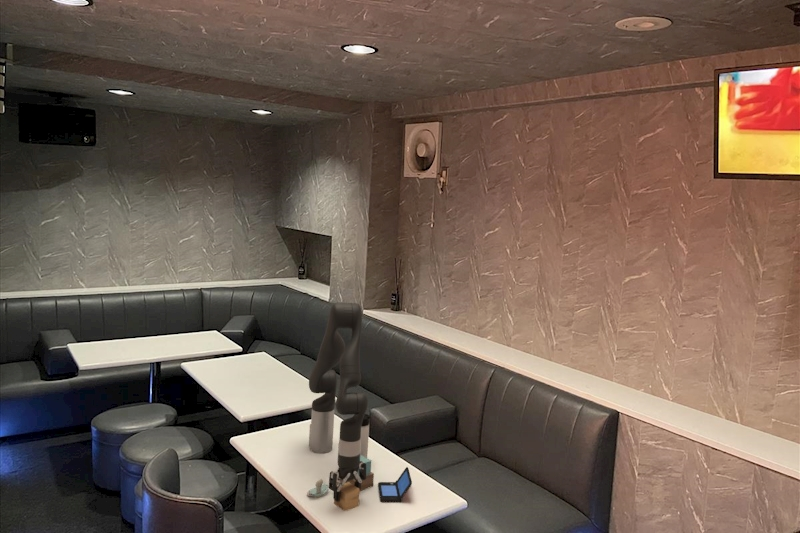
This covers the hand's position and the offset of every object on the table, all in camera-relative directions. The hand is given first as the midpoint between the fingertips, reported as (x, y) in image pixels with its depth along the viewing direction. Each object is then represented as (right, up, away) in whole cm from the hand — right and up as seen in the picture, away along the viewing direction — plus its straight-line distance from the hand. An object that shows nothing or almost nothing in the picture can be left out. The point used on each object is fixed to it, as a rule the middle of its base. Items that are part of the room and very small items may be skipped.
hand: (346, 496), depth 190 cm
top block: (+2, +3, +13) cm, 14 cm away
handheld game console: (+16, -3, +10) cm, 19 cm away
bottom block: (+2, -2, +14) cm, 14 cm away
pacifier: (-11, -2, +6) cm, 13 cm away
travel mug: (+2, 0, +30) cm, 30 cm away
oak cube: (0, -3, +1) cm, 3 cm away
